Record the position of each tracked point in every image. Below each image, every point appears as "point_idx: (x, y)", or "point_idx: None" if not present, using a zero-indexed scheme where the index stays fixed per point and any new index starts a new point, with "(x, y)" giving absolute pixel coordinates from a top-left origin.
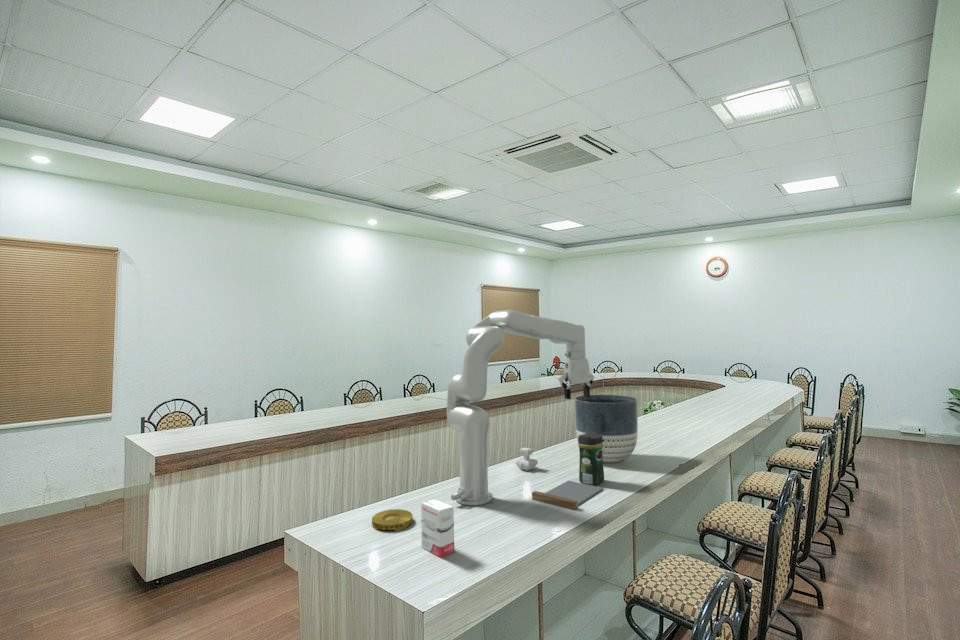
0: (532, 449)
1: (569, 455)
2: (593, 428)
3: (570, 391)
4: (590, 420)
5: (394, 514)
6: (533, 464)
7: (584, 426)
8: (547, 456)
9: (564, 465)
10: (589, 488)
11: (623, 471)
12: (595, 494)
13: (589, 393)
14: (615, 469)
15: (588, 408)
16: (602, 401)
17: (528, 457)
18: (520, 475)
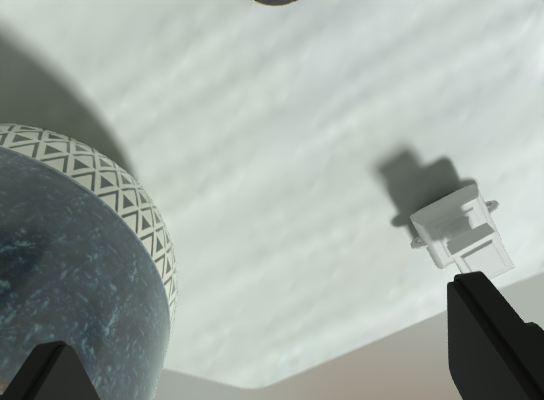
0: (452, 253)
1: (194, 319)
2: (106, 236)
3: (524, 383)
4: (101, 283)
5: None
6: (439, 201)
7: (146, 293)
8: (282, 331)
9: (277, 212)
10: None
11: (63, 48)
12: None
13: (15, 385)
14: (87, 89)
15: None
16: None
17: (460, 233)
18: (516, 148)
